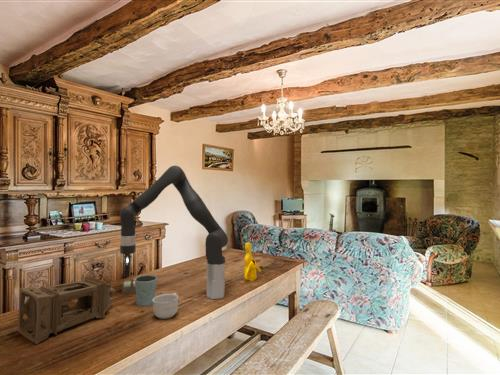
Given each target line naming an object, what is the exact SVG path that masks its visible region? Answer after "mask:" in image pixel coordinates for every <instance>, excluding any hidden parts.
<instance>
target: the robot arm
mask: <svg viewBox="0 0 500 375" xmlns="http://www.w3.org/2000/svg"><path fill="white" fill-rule="evenodd" d="M170 185H173V186H174V188H175V189H176V190H177V191H178V193H179V195H180V196H181V199H182V202H183V204H184V206H185V208H186V209H187V211H188V212H189V214H190V216H191V217H192V218H193V219H194V220H195V221H197V223H198V224H200V225H201V226H202V227H204V229H205V230H206V231H207V233H208V234H207V235H206V238H205V246H204V247H205V257H206V258H205V259H206V297H207V298H208V299H211V300H216V299H217V300H218V299H224V297H225V289H226V288H225V283H226V256H224V255H223V248H225V247H226V246H227V245H228V243H229V239H228V235H227V233H226V232H225V231H224V230H223V228H222V227H221V226H220V224H219V223H218V221H216V219H215V218H214V216H213V215H212V214H211V211H210V210H209V209H208V207H207V206H206V204H205V202H204V200H203V199H202V198H201V196H200V195H199V194H198V193H197V191H196V190H195V189H194V188H193V187H192V185H191V183H190V181H189V179H188V177H187V175H186V173H185V171H184V169H182V168H181V166H178V165H171V166H169V167H168V168H167V169H166V170H165V171H164V172H163V174H161V175H160V177H159V178H158V179H157V180H156V181H155V182H154V183H153V184H152V185H151V186H149V187H148V188H146V190H145V191H143V192H142V193H141V194H139V195H138V196H137V197H136V198H135V199H134V200H133V201H132V202H130V203H128V205H126V206H124V207H123V208H121V210H120V213H119V214H120V215H119V218H120V220H119V221H120V240H119V244H120V245H119V252H120V253H119V254H120V255H124V256H123V266H124V277H126V278H130V277H131V276H130V275H131V266H132V260H133V259H132V257H133V256H132V254H134V253H136V247H137V246H136V244H137V243H136V242H137V241H136V225H135V217H136V216H137V215H138V214H140V213H141V211H143V210H145V209H146V208H147V207H149V206H150V205H151V204H152V203H153V202H155V201H156V199H157V198H158V197H159V195H161V193H162V192H163V191H164V190H165V189H166V188H167V187H169V186H170Z"/></svg>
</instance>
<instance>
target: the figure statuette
mask: <svg viewBox="0 0 500 375" xmlns="http://www.w3.org/2000/svg"><path fill="white" fill-rule="evenodd" d="M244 249H245V250H244V251H245V256H244V260H243V262H244V263H243V264H244V271H243V276H244V277H243V278H244V280H246V281H250V282H254V281H256V280H257V272H258V273H260V272H262V270H261V268H260V267H259V265H258V264H257V261H256V260H255V259H254V257H253V254H252V242H245V244H244Z"/></svg>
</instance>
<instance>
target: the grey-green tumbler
mask: <svg viewBox="0 0 500 375" xmlns="http://www.w3.org/2000/svg"><path fill="white" fill-rule="evenodd" d="M134 278H135V288H136V292H135V295H136V296H135V304H136V305H137V306H138V307H149V306H151V305H152V306H153V301H152V300H153V298H155V297H156V292H157V291H156V290H157V282H158V277H157V275H154V274H143V275H139V276H136V277H134Z"/></svg>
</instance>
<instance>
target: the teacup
mask: <svg viewBox="0 0 500 375" xmlns="http://www.w3.org/2000/svg"><path fill="white" fill-rule="evenodd" d="M152 301H153V304H152V311H153V314H154V315H155V317H157V318H158V319H163V320H165V319H170V318H172V317H174V316H175V314H177V313H178V310H179V309H178V308H179V294H178V293H177V292H173V293H163V294H160V295H155V298H153V300H152Z"/></svg>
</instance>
